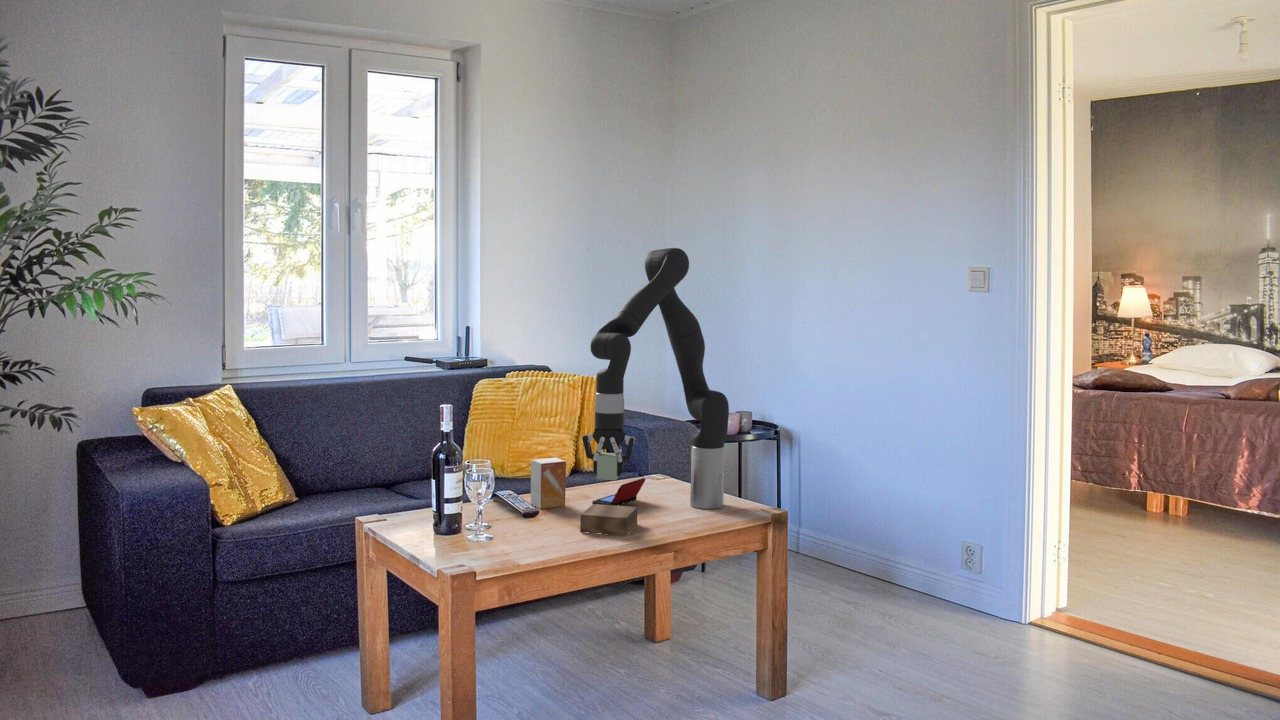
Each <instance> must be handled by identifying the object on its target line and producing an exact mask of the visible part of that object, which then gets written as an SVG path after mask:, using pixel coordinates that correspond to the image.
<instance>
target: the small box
mask: <svg viewBox="0 0 1280 720" xmlns="http://www.w3.org/2000/svg"><path fill="white" fill-rule="evenodd" d="M566 473H567V461H566V460H564V459H561V458H559V457H556V456H555V457H549V458H546V457H545V458H540V459H539V458H538V459H537V458H536V459H531V460H530V505H531V504H533V505H534V506H533V505H532V506H533V507H535V506H536V507H535V508H537V509H540V510H543V509H549V508H560V507H565V506H566V487H567V486H566V485H567V484H566V481H567V480H566V478H567V474H566Z"/></svg>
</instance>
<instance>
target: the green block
mask: <svg viewBox="0 0 1280 720" xmlns="http://www.w3.org/2000/svg"><path fill="white" fill-rule="evenodd" d="M617 462H618V459H617V456H616V454H615V452H601V454H600V455H598V456H597V475H596V480H606V481H609V480H610V481H617V479H619V477H620V476H617Z"/></svg>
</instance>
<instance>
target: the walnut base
mask: <svg viewBox="0 0 1280 720" xmlns="http://www.w3.org/2000/svg"><path fill="white" fill-rule="evenodd" d="M579 517H580V521H579V522H580V527H579V528H580V529H579V530H580V532H589V533H588V534H592V533H601V534H600V535H604V534H608V535H607V536H616V537H617V536H618V537H627V536H628V535H629V534H630V533H629V532H630V531H631V532H632V531H633V530H634V529H635V527H637V526H638V506H626V505H620V506H615V505H601V504H592V505H590V506H589V507H588V508H587V509H586V510H584V511H583V512H582V513H580V516H579ZM628 533H629V534H628ZM627 534H628V535H627Z"/></svg>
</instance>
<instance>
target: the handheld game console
mask: <svg viewBox="0 0 1280 720" xmlns="http://www.w3.org/2000/svg"><path fill="white" fill-rule="evenodd" d="M645 482H646V478H645V477H642V478H639V479H637V480H633V481H629V482H626V483H623V484H621V485H620V486H619V488H617V491H616V493H615V494H611V495H608V496H605V497H601V498H598V499H596V500H592V503H591V504H592V505H593V504H601V505H615V506H618V505H620V506H622V505H623V504H622V503H625V504H629V503H631V501H632V502H635V501H634V500H636V501H637V496H638V494H639V492H640V490H642V487H643V485H644V483H645ZM628 502H629V503H628ZM621 504H622V505H621Z"/></svg>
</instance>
